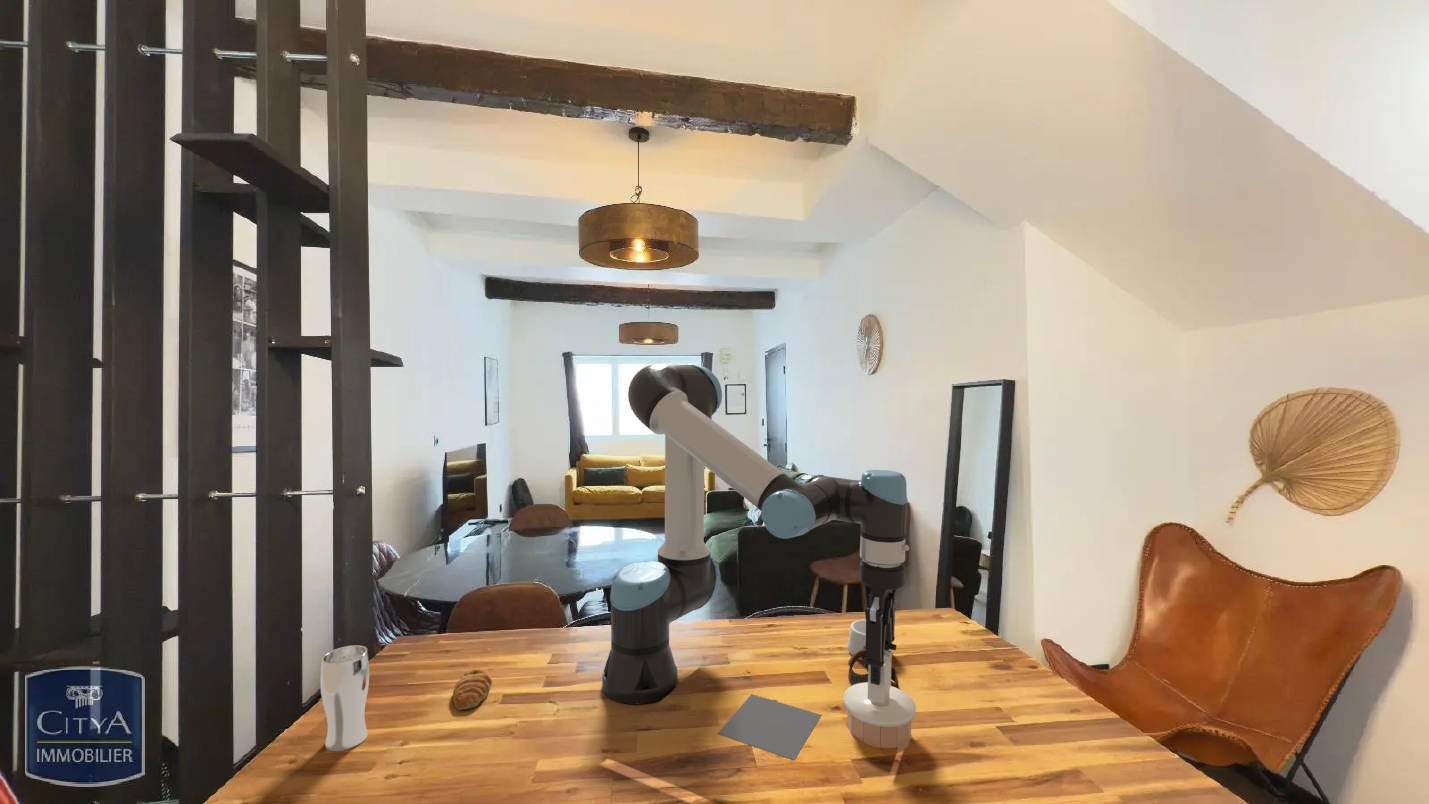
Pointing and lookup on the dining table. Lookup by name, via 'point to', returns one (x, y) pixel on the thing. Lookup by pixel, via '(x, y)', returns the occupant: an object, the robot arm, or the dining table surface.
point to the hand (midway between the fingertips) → (879, 692)
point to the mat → (771, 726)
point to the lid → (887, 714)
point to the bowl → (880, 734)
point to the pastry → (471, 689)
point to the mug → (857, 637)
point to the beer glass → (345, 696)
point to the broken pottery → (858, 678)
